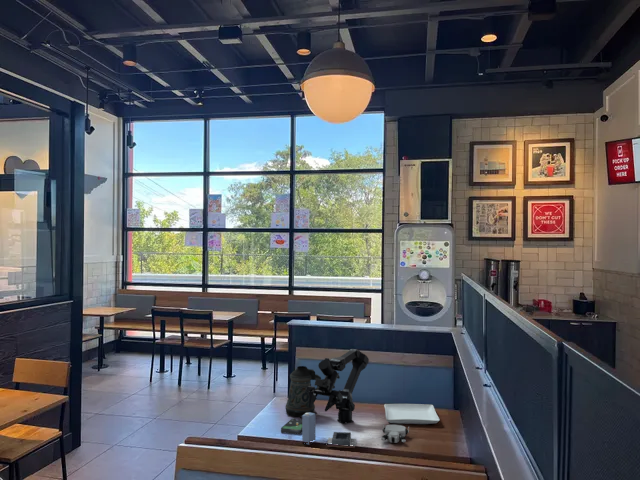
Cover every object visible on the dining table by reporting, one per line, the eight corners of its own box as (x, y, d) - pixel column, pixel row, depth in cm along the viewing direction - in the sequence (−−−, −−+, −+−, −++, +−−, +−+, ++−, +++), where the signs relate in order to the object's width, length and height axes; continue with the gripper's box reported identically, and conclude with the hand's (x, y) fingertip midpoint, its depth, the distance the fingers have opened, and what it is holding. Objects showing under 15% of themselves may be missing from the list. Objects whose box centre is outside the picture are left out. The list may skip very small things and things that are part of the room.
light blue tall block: (309, 439, 220) (309, 410, 221) (315, 440, 218) (315, 411, 219) (302, 442, 215) (302, 413, 216) (308, 444, 213) (308, 415, 214)
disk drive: (291, 423, 243) (280, 433, 229) (291, 418, 243) (280, 427, 229) (310, 425, 240) (300, 435, 226) (310, 420, 240) (300, 429, 226)
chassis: (328, 439, 219) (328, 431, 220) (356, 440, 218) (356, 432, 218) (326, 447, 210) (326, 439, 210) (355, 448, 208) (355, 440, 208)
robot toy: (406, 448, 211) (409, 434, 225) (406, 438, 211) (409, 424, 225) (379, 445, 214) (383, 431, 228) (379, 435, 214) (383, 422, 228)
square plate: (432, 410, 262) (432, 403, 262) (440, 427, 235) (440, 419, 235) (384, 409, 265) (383, 402, 265) (386, 426, 238) (385, 418, 238)
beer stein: (280, 410, 263) (280, 365, 264) (311, 405, 272) (311, 362, 274) (293, 419, 249) (292, 371, 250) (325, 413, 258) (324, 367, 259)
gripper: (307, 369, 234) (294, 397, 224) (339, 374, 223) (327, 403, 214) (316, 382, 240) (304, 409, 230) (347, 387, 229) (336, 416, 220)
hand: (317, 409), depth 223 cm, fingers open, 9 cm apart
